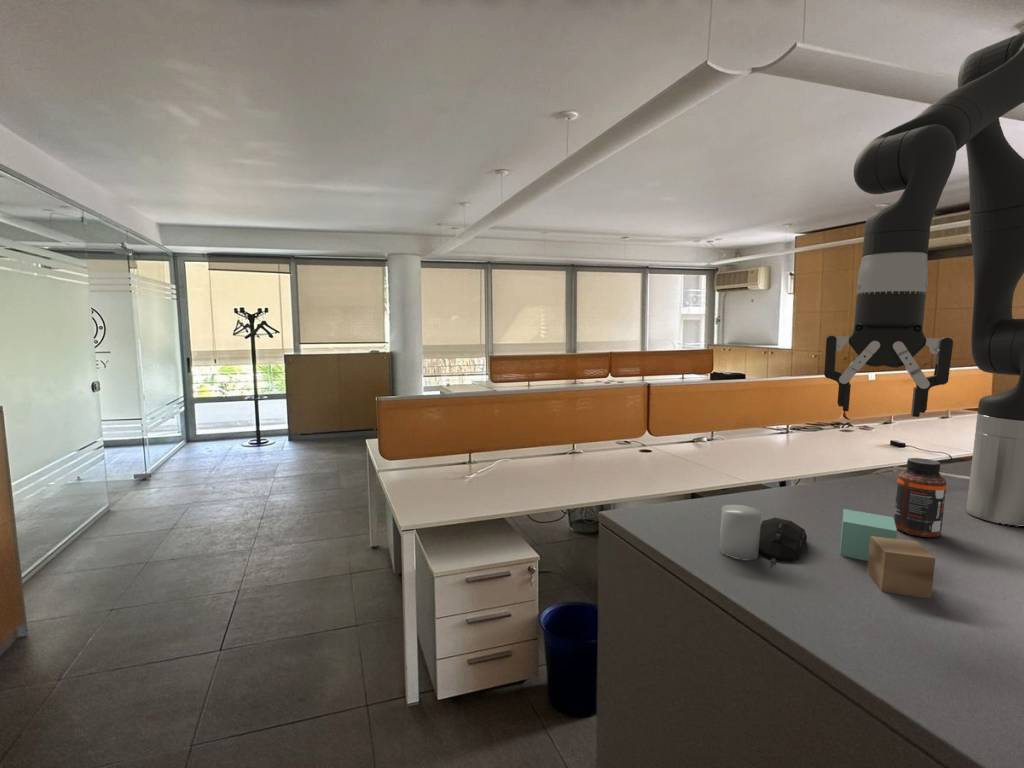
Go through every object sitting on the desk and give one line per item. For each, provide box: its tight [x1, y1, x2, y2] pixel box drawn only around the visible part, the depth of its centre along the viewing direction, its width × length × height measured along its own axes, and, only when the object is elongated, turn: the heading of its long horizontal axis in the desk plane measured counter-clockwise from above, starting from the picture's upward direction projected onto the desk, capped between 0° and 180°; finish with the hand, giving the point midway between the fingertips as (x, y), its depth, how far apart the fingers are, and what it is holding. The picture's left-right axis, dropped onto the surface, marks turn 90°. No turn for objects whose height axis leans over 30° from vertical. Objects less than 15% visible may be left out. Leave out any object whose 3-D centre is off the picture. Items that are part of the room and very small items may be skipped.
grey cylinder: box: [718, 504, 762, 561], centre depth 73 cm, size 5×5×6 cm
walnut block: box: [866, 536, 936, 599], centre depth 64 cm, size 5×5×5 cm
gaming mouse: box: [758, 517, 808, 569], centre depth 75 cm, size 6×15×4 cm, turn 147°
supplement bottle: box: [893, 457, 947, 539], centre depth 81 cm, size 6×6×11 cm
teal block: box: [839, 508, 898, 562], centre depth 74 cm, size 6×6×5 cm
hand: (879, 413), depth 72 cm, fingers open, 7 cm apart
